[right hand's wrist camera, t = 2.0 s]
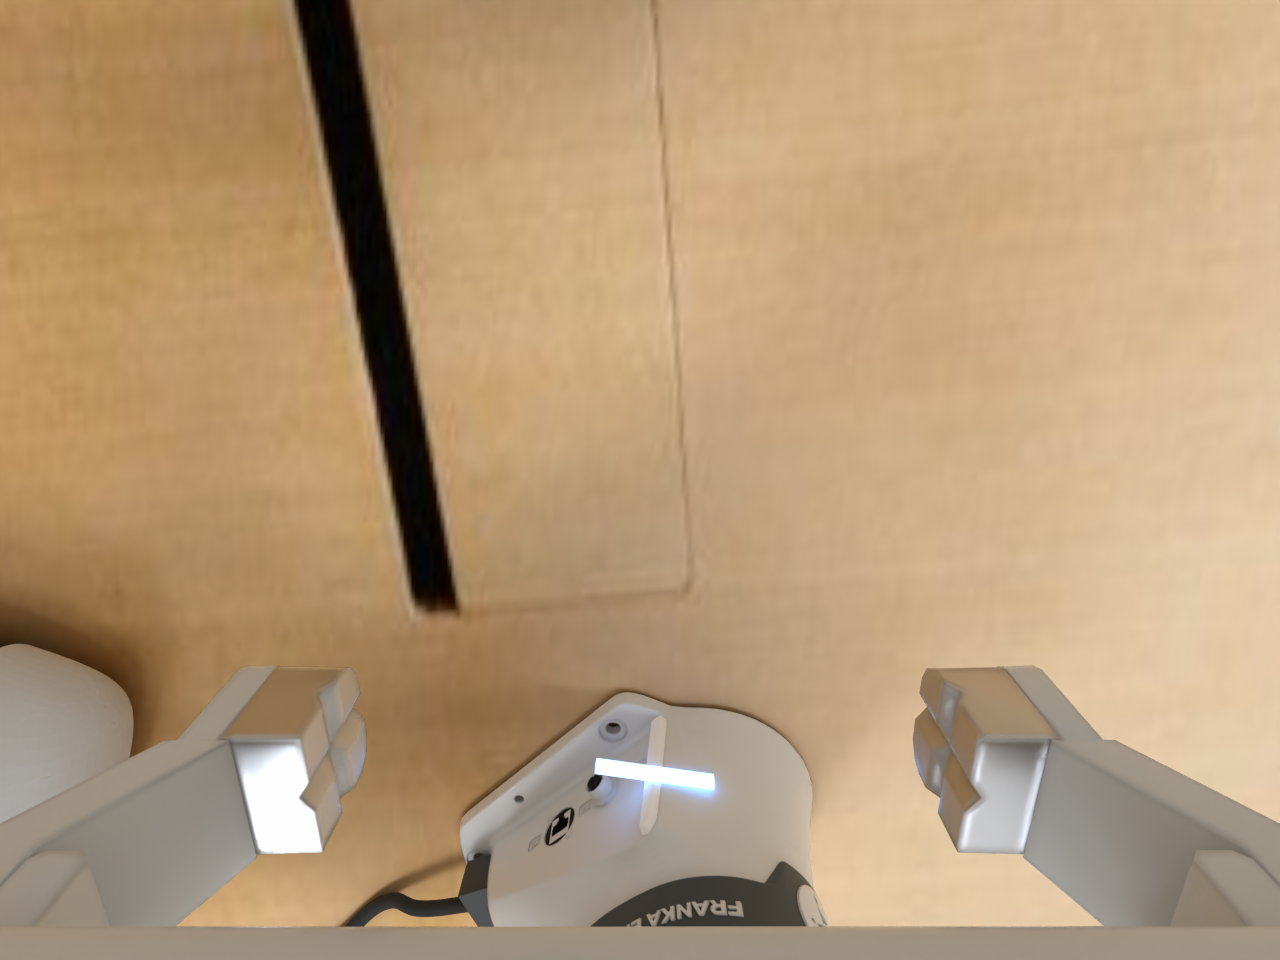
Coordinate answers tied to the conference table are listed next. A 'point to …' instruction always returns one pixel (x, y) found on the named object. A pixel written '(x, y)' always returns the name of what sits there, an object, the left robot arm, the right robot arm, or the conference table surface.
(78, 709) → the white rounded device
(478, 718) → the conference table surface
